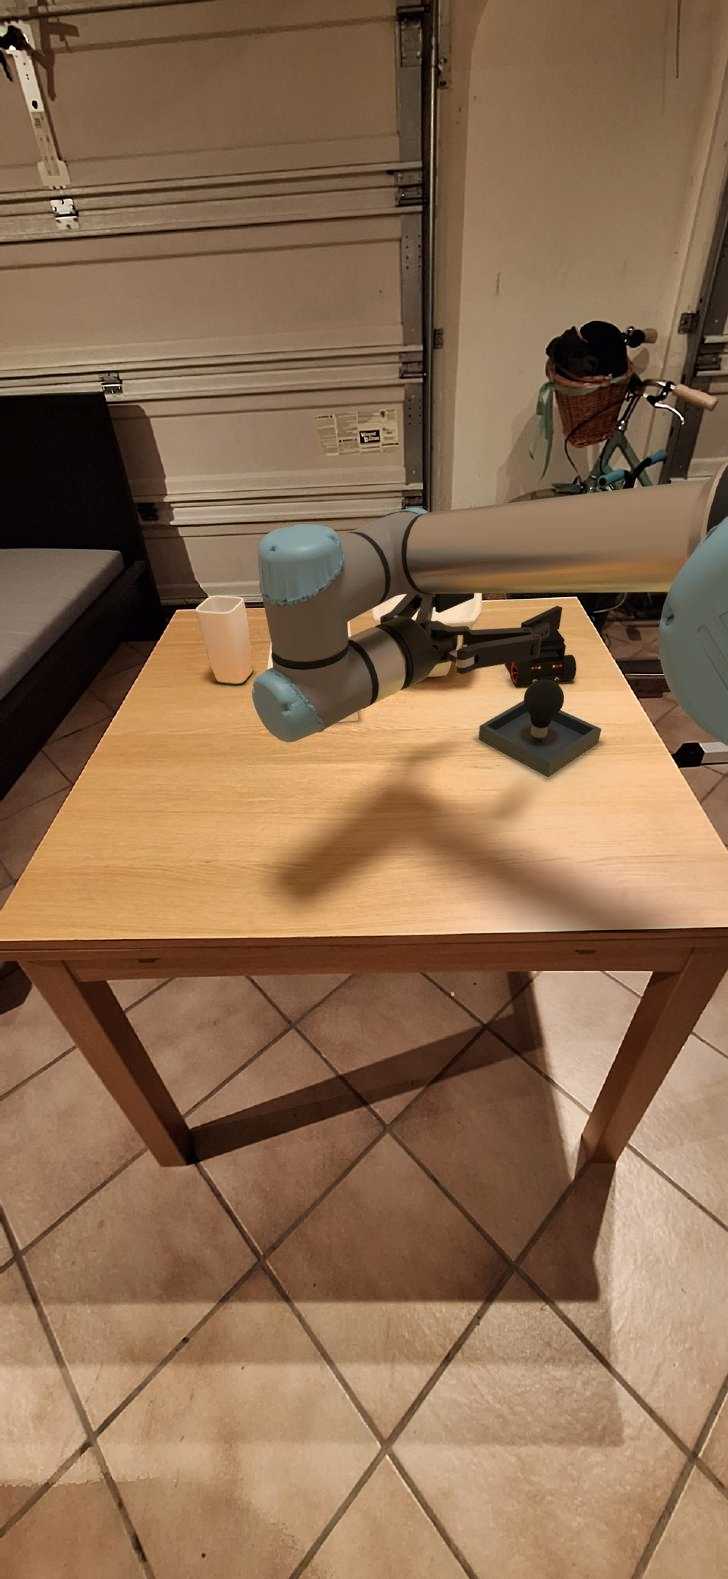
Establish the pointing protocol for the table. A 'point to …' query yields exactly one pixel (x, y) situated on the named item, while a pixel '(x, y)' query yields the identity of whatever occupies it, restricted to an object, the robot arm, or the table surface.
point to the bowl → (452, 617)
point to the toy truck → (545, 663)
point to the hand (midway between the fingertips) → (513, 601)
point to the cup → (226, 637)
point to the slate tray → (540, 754)
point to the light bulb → (543, 705)
